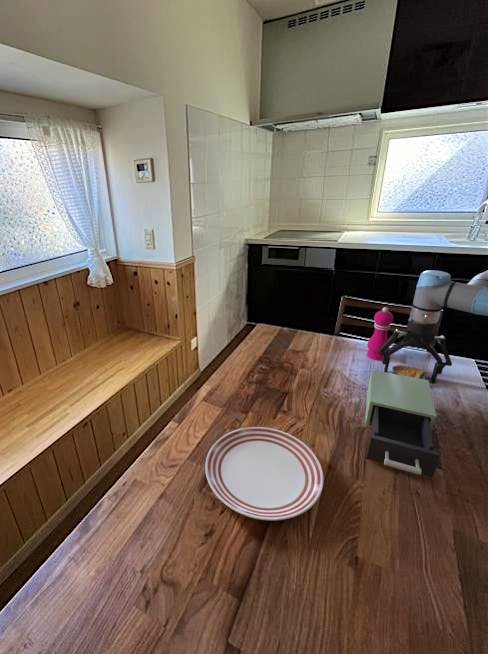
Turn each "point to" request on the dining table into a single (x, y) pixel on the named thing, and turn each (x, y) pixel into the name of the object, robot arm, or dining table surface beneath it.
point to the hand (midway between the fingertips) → (408, 376)
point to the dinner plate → (264, 473)
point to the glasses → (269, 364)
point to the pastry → (409, 371)
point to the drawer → (402, 441)
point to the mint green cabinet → (399, 395)
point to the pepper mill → (379, 333)
